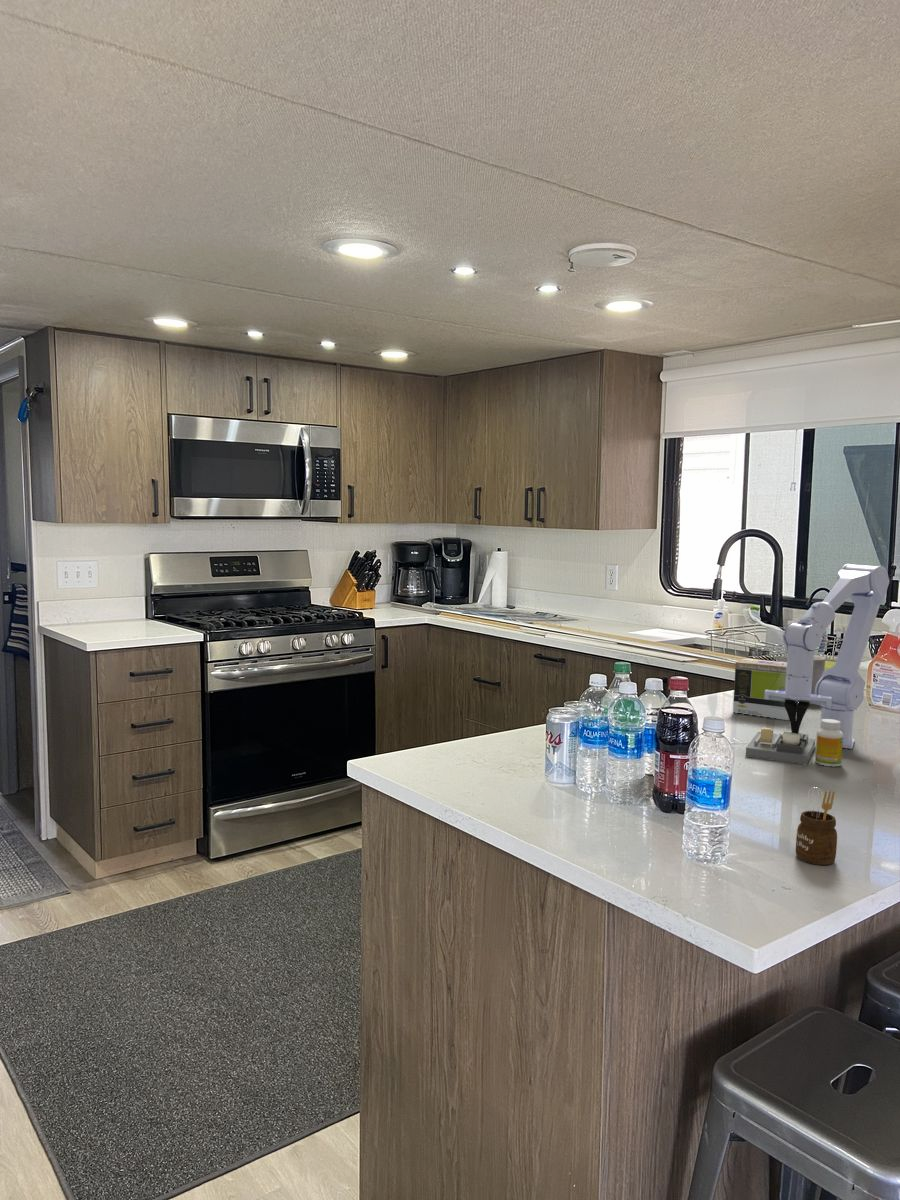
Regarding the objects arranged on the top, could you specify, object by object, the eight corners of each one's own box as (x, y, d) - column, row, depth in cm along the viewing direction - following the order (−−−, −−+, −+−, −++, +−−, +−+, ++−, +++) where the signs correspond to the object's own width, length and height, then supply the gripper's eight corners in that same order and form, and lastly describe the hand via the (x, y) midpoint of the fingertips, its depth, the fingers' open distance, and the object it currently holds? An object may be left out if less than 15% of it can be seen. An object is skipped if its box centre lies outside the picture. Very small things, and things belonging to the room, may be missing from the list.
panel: (757, 739, 219) (758, 725, 218) (814, 747, 213) (815, 732, 212) (745, 756, 203) (746, 740, 202) (806, 765, 197) (808, 749, 196)
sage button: (787, 739, 211) (787, 729, 211) (803, 741, 210) (804, 732, 210) (785, 742, 208) (786, 732, 208) (801, 744, 207) (802, 735, 206)
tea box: (796, 715, 248) (799, 662, 247) (788, 721, 240) (792, 667, 239) (741, 707, 256) (744, 656, 255) (731, 713, 248) (735, 660, 247)
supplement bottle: (843, 768, 195) (846, 724, 194) (817, 765, 196) (819, 722, 196) (838, 761, 200) (841, 719, 199) (813, 759, 202) (815, 717, 201)
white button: (783, 741, 204) (784, 731, 204) (800, 743, 203) (800, 733, 202) (781, 744, 201) (781, 734, 201) (798, 746, 199) (799, 737, 199)
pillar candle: (784, 697, 274) (787, 648, 272) (817, 698, 273) (821, 650, 271) (791, 704, 265) (795, 654, 263) (826, 705, 263) (830, 655, 262)
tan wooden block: (761, 740, 207) (762, 727, 207) (772, 741, 206) (773, 728, 206) (760, 741, 206) (761, 729, 205) (771, 743, 205) (772, 730, 204)
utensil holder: (824, 852, 144) (830, 779, 143) (843, 867, 138) (849, 791, 137) (788, 851, 144) (794, 778, 143) (805, 866, 138) (811, 790, 137)
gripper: (763, 674, 207) (760, 731, 208) (831, 681, 201) (827, 740, 202) (768, 670, 213) (764, 725, 215) (834, 676, 207) (829, 734, 208)
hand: (795, 732), depth 209 cm, fingers closed, pressing on sage button
